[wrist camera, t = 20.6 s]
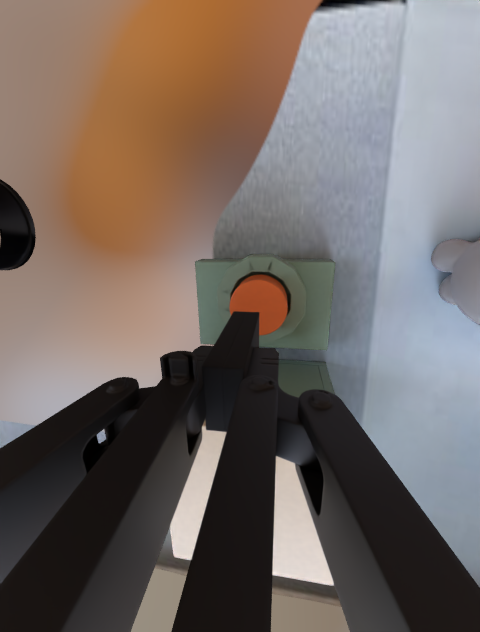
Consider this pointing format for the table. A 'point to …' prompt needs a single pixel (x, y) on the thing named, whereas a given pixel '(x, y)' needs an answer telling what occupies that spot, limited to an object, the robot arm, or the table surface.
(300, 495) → the lid
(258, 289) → the button
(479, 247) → the round bodied animal figurine
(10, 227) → the french press
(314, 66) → the table surface
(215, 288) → the control block
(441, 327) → the table surface
